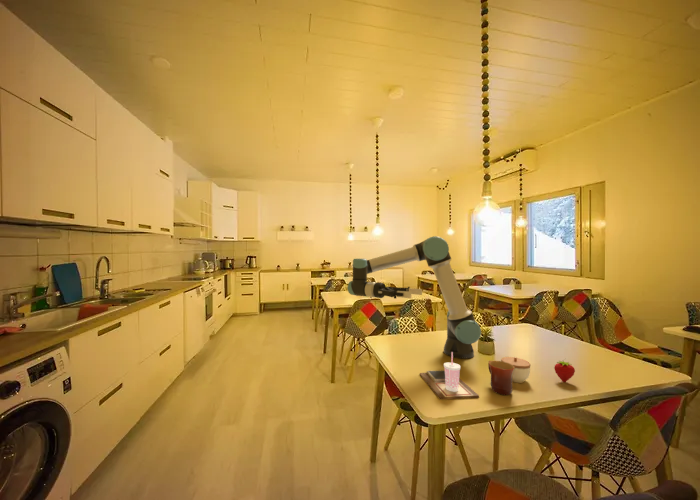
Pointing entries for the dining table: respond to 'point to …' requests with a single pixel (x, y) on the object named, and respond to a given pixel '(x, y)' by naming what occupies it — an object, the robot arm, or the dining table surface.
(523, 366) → the lidded jar
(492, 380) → the mug
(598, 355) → the dining table surface
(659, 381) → the dining table surface
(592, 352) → the dining table surface
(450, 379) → the beverage cup
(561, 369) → the strawberry
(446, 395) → the stamp board
